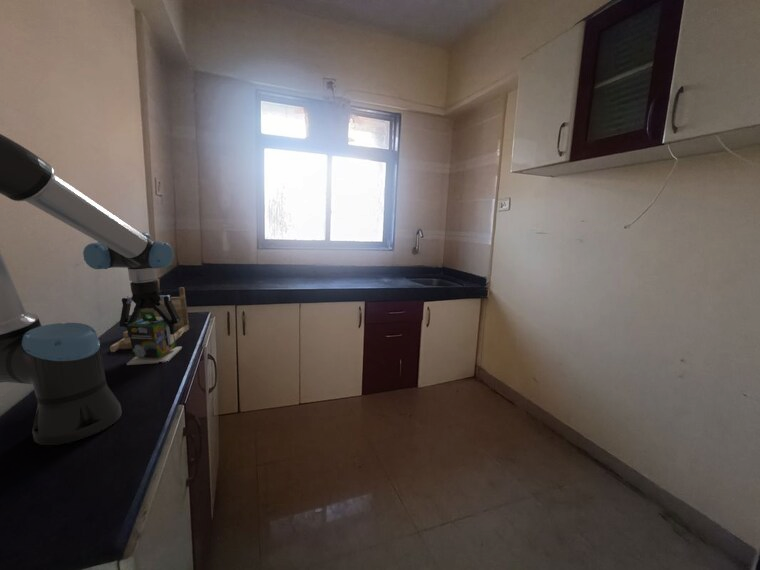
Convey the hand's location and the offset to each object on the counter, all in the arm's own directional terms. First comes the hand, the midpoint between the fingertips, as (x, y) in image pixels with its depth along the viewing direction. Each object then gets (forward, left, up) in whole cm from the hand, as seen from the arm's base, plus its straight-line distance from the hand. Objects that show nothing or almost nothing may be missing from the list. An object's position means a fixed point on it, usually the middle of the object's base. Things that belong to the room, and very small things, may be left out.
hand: (154, 344), depth 113 cm
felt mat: (0, 0, -4) cm, 4 cm away
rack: (+18, +8, -4) cm, 20 cm away
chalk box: (0, 0, -3) cm, 3 cm away
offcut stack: (+11, +8, -4) cm, 15 cm away
